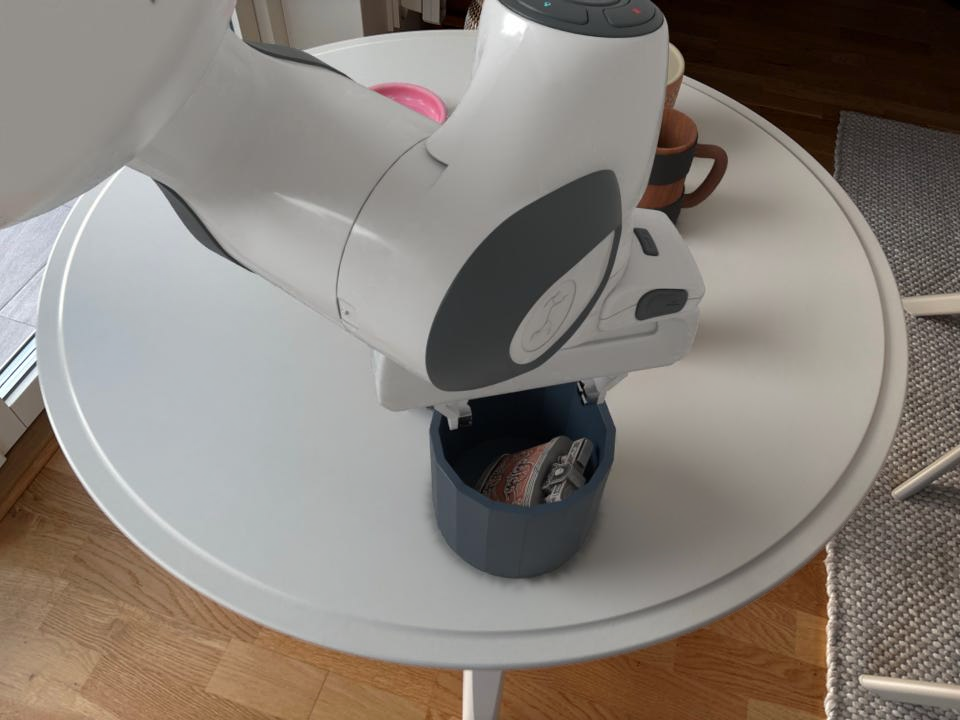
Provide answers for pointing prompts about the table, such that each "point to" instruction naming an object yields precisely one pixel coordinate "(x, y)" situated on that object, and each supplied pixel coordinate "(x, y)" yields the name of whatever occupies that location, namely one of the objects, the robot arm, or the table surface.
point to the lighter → (537, 473)
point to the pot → (508, 527)
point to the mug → (680, 166)
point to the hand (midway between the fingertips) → (524, 408)
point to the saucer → (414, 99)
